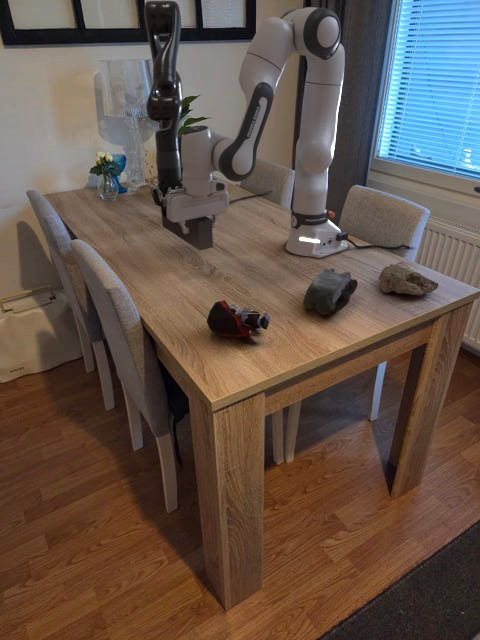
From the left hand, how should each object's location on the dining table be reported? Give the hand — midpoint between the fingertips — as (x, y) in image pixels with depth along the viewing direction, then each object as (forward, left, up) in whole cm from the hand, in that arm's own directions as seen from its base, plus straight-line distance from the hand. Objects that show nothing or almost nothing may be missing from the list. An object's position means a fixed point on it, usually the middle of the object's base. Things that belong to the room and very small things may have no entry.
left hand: (172, 215), depth 152 cm
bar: (+2, +9, -5) cm, 10 cm away
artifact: (-25, +73, -13) cm, 79 cm away
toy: (+28, +53, -13) cm, 61 cm away
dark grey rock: (-2, +62, -13) cm, 64 cm away
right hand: (+5, +18, +1) cm, 19 cm away
